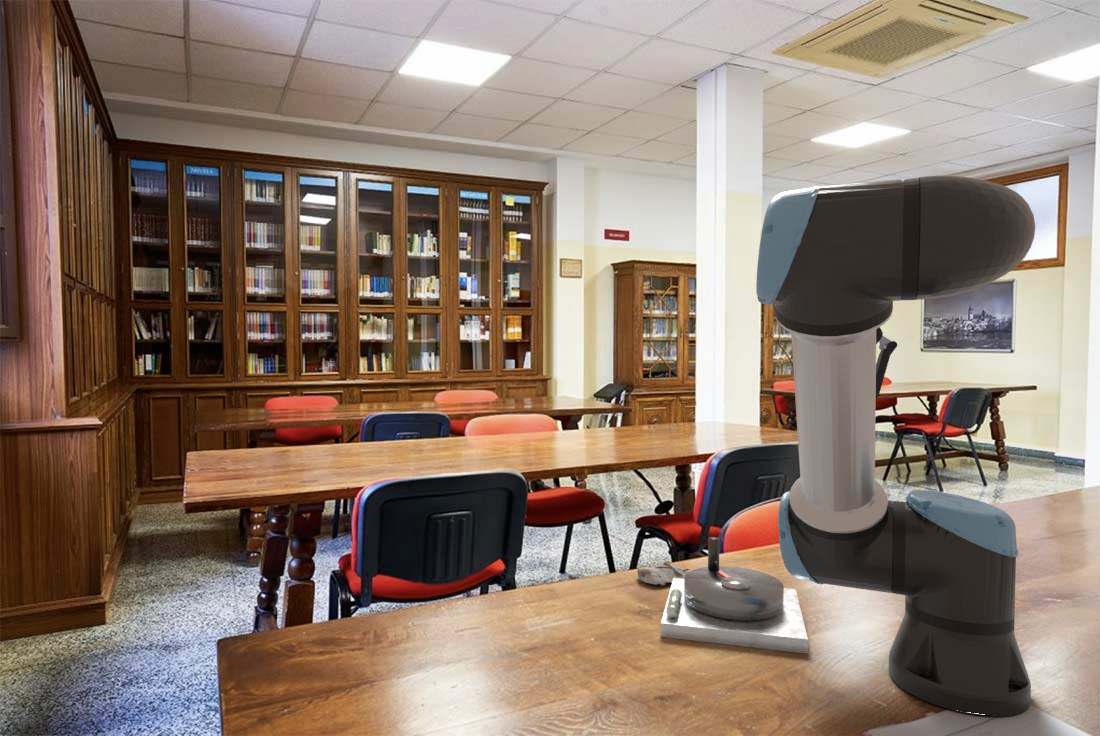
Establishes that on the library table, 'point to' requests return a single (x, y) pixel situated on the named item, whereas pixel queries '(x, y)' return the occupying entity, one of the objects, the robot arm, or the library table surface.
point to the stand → (735, 625)
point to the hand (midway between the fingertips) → (852, 441)
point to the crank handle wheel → (732, 590)
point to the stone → (661, 573)
